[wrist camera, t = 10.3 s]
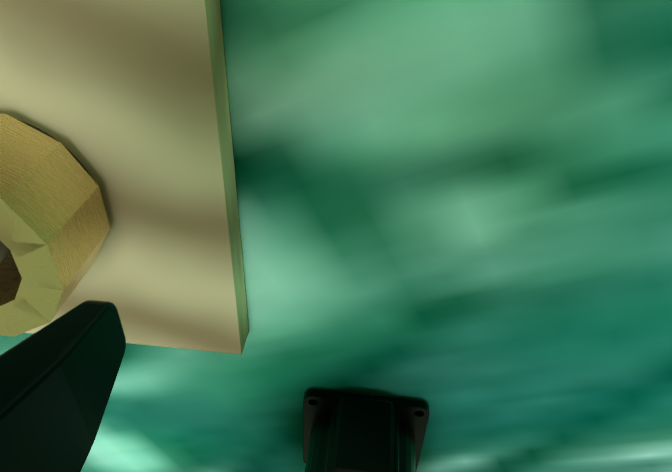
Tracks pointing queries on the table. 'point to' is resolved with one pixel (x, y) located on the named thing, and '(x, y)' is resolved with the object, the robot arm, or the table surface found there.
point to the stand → (141, 155)
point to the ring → (43, 226)
